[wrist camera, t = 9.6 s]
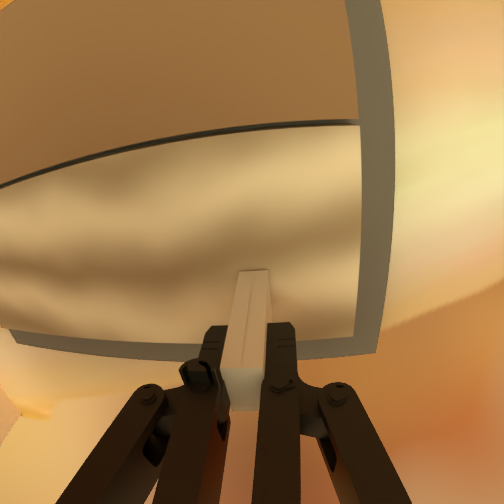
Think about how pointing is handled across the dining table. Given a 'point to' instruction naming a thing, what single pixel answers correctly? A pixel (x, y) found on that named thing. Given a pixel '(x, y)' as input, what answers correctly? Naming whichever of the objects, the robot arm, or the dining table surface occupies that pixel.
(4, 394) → the milk
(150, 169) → the plank
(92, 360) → the dining table surface
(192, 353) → the floor frame
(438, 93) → the dining table surface
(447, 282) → the dining table surface
